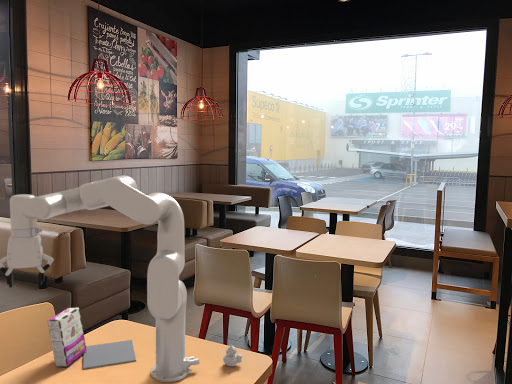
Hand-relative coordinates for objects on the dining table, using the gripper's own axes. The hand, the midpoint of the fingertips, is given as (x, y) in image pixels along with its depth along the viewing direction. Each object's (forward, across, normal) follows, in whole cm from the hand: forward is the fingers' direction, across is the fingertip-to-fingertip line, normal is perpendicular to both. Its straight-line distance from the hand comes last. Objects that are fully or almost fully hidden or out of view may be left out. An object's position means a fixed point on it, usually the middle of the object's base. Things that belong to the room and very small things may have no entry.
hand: (26, 284), depth 140 cm
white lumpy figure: (+28, -65, +21) cm, 74 cm away
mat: (+28, -26, 0) cm, 38 cm away
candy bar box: (+28, -13, 0) cm, 31 cm away
